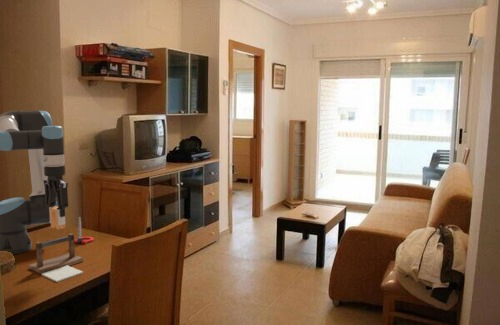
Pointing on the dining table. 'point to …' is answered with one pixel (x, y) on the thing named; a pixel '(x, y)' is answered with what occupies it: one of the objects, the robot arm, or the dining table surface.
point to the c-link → (55, 218)
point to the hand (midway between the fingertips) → (57, 223)
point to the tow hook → (80, 239)
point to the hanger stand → (56, 261)
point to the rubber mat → (62, 273)
